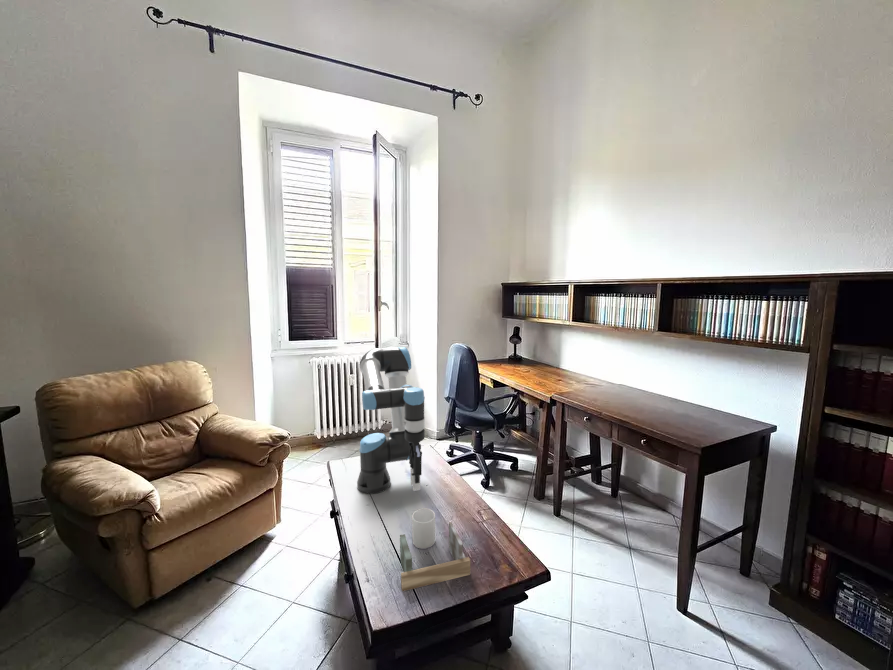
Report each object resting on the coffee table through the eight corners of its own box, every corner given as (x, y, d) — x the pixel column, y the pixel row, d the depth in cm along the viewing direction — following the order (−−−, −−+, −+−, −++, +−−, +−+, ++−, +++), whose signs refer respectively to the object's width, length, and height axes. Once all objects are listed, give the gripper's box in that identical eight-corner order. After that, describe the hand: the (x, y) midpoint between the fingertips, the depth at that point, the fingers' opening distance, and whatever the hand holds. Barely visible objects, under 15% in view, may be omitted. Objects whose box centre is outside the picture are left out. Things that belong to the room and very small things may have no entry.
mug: (405, 532, 136) (404, 506, 135) (425, 525, 140) (424, 500, 138) (418, 552, 125) (417, 525, 124) (439, 544, 129) (439, 518, 128)
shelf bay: (395, 560, 122) (394, 533, 121) (459, 546, 129) (459, 520, 127) (402, 591, 110) (401, 561, 108) (473, 573, 116) (473, 545, 115)
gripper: (400, 422, 144) (402, 477, 147) (409, 438, 128) (410, 500, 131) (419, 420, 146) (420, 475, 149) (429, 436, 130) (430, 497, 133)
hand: (415, 486), depth 140 cm, fingers open, 3 cm apart
